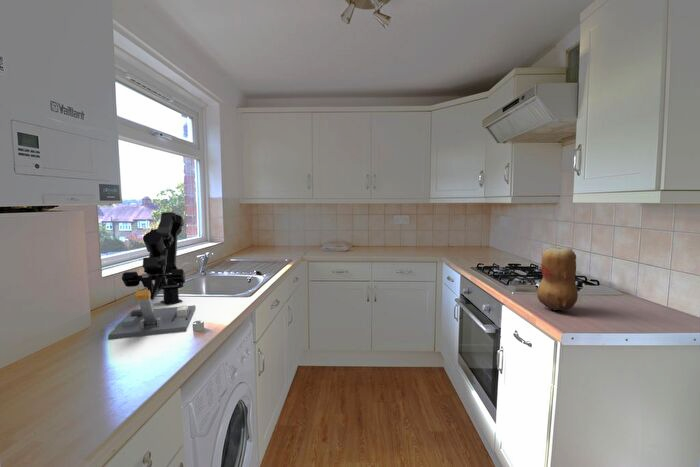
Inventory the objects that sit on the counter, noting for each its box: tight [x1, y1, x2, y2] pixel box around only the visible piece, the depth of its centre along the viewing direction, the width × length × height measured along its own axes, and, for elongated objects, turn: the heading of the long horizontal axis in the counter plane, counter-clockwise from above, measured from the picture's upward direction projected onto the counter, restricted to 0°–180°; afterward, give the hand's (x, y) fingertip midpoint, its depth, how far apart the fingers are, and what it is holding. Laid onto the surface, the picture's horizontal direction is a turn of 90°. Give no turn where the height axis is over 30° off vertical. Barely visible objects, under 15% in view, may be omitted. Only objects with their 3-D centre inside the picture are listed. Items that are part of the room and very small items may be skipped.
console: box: [107, 305, 196, 340], centre depth 120 cm, size 24×22×4 cm
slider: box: [177, 308, 187, 317], centre depth 122 cm, size 2×3×2 cm, turn 107°
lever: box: [134, 289, 157, 326], centre depth 108 cm, size 2×4×16 cm
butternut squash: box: [536, 246, 579, 312], centre depth 131 cm, size 14×13×25 cm
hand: (151, 299), depth 113 cm, fingers closed
